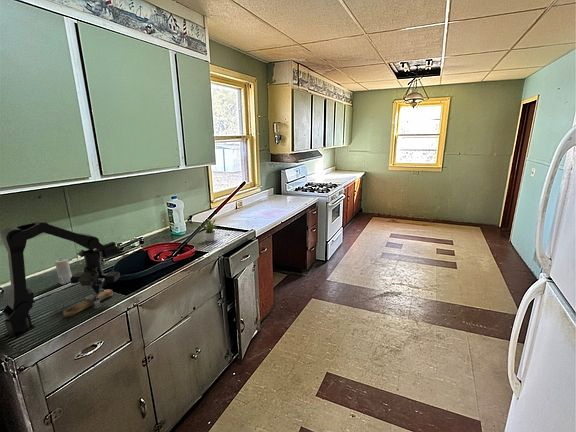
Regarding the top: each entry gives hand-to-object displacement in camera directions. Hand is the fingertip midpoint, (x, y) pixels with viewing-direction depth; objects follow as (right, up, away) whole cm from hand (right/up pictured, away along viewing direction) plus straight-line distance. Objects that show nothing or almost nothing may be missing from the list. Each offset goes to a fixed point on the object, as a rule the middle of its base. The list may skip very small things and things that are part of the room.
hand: (98, 294), depth 136 cm
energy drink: (-26, +2, +16) cm, 31 cm away
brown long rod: (0, -3, -6) cm, 6 cm away
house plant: (+32, +19, +76) cm, 84 cm away
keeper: (+1, -4, -5) cm, 7 cm away
